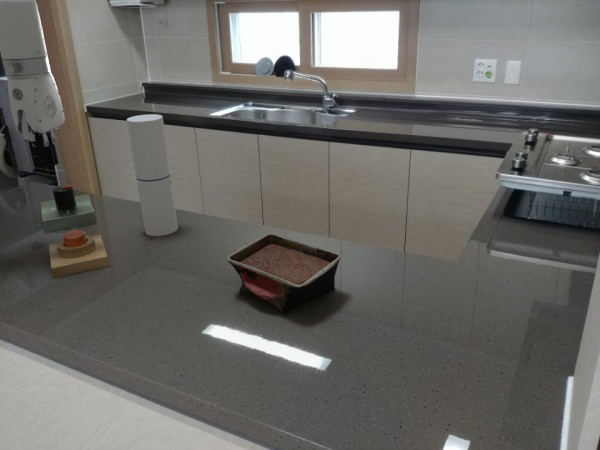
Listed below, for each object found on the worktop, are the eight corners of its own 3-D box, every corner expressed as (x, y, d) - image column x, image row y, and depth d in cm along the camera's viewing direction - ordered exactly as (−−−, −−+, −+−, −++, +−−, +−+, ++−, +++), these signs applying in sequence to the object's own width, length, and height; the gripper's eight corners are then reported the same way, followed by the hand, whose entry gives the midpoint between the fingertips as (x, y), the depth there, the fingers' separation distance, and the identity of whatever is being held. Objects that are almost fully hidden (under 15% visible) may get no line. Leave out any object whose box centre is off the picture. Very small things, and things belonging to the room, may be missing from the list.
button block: (51, 254, 110) (46, 236, 109) (102, 243, 114) (98, 226, 112) (53, 278, 100) (49, 259, 98) (109, 266, 104) (105, 247, 102)
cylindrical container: (139, 235, 117) (119, 121, 107) (154, 222, 124) (137, 114, 114) (169, 237, 116) (152, 122, 106) (183, 224, 122) (168, 114, 112)
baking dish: (288, 338, 83) (296, 283, 79) (216, 286, 93) (219, 235, 89) (346, 306, 93) (356, 256, 89) (275, 262, 103) (281, 215, 99)
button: (64, 242, 106) (62, 232, 106) (85, 237, 108) (83, 228, 107) (65, 249, 103) (63, 240, 102) (87, 245, 105) (85, 235, 104)
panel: (43, 213, 132) (40, 201, 131) (90, 205, 136) (88, 193, 135) (45, 233, 120) (42, 220, 119) (96, 223, 125) (94, 210, 123)
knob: (57, 211, 124) (52, 191, 123) (56, 205, 128) (51, 186, 126) (77, 207, 126) (72, 188, 124) (75, 201, 130) (71, 183, 128)
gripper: (24, 73, 90) (47, 177, 97) (67, 62, 104) (84, 154, 111) (-18, 74, 91) (8, 177, 98) (30, 63, 104) (50, 154, 112)
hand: (48, 165), depth 104 cm, fingers closed
